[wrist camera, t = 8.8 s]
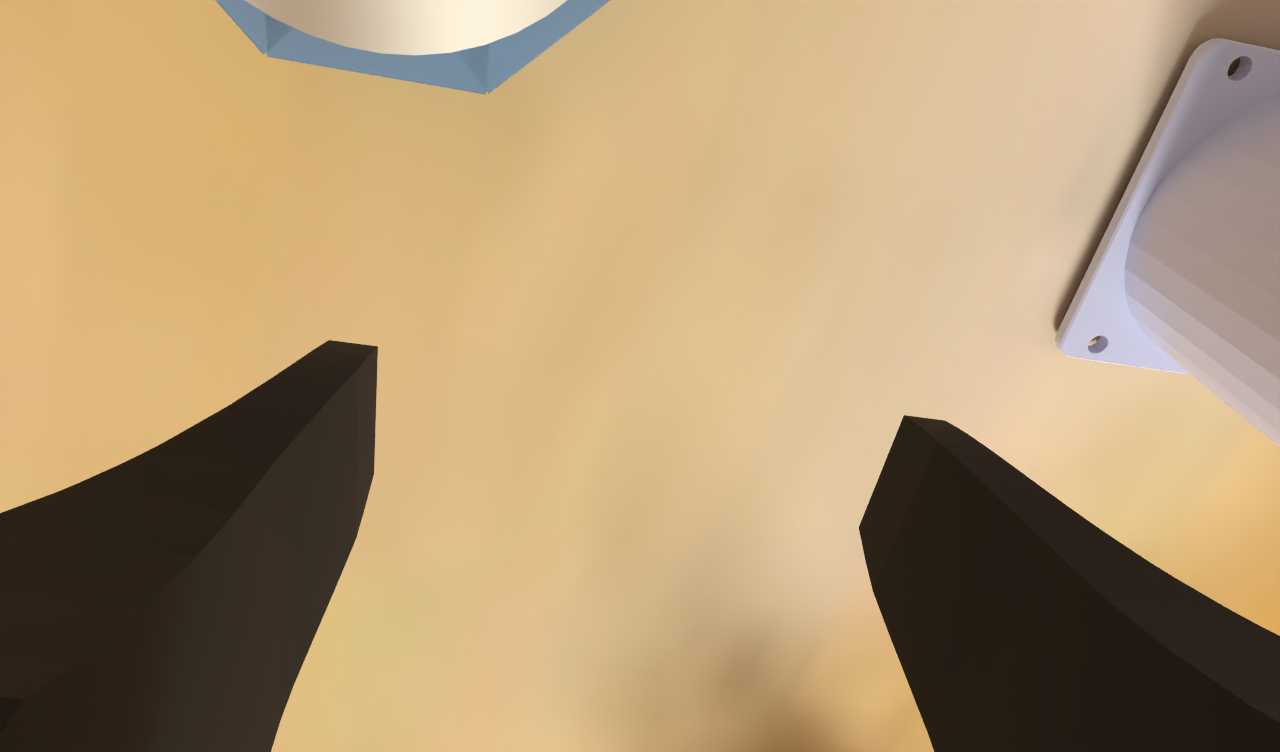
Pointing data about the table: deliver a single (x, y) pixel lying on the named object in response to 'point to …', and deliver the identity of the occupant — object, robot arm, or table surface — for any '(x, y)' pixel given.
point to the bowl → (447, 70)
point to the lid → (408, 22)
